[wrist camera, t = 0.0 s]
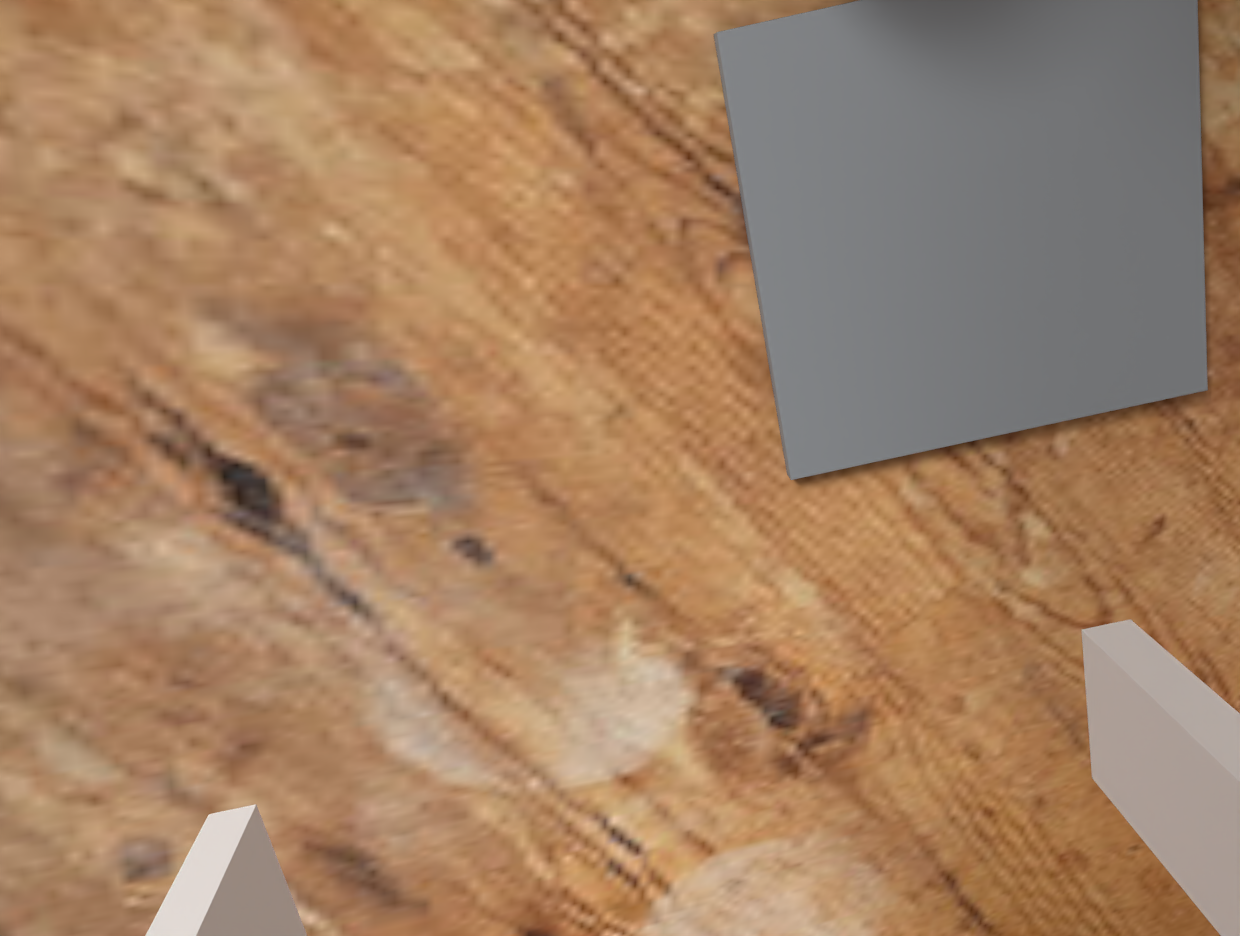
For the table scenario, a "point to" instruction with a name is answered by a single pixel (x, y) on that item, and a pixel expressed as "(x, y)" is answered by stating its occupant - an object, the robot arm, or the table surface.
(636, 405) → the table surface
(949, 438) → the slate mat
